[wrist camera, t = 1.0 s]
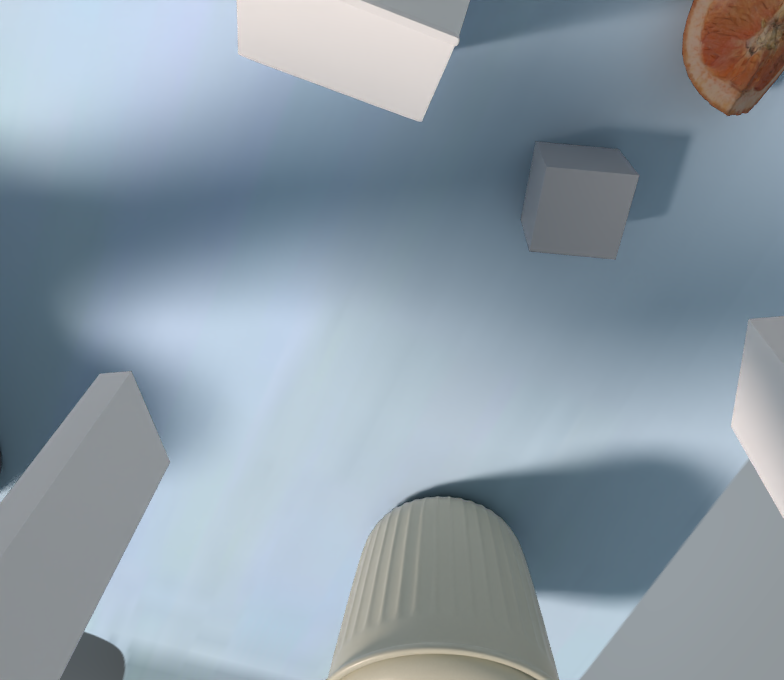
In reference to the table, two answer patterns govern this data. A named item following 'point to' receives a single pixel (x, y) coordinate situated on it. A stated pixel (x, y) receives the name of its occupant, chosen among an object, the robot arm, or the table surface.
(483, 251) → the table surface
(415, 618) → the canister
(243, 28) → the milk carton
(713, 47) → the fruit slice
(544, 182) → the slate grey block
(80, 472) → the robot arm
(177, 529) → the table surface
